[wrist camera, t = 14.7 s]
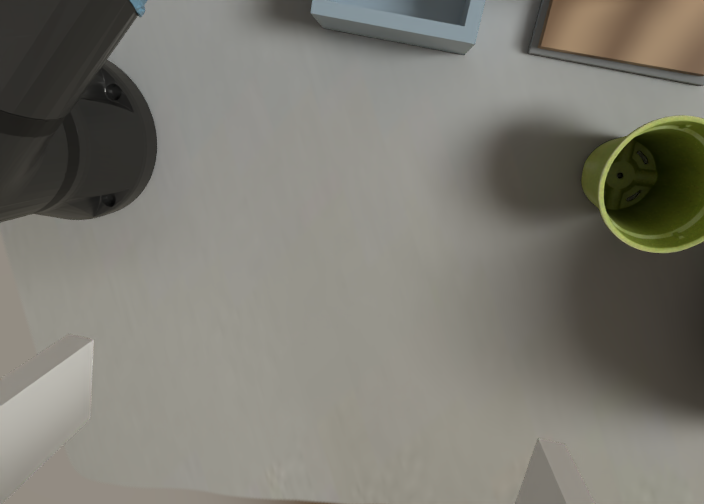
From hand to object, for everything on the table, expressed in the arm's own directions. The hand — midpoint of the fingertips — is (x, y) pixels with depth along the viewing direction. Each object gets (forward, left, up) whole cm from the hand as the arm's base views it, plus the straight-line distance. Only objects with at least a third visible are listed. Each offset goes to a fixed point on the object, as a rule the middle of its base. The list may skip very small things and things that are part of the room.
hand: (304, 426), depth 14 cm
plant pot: (+20, +8, -32) cm, 39 cm away
